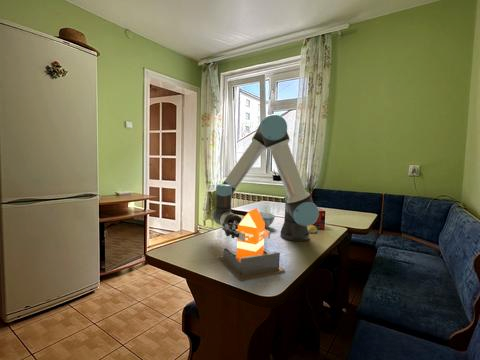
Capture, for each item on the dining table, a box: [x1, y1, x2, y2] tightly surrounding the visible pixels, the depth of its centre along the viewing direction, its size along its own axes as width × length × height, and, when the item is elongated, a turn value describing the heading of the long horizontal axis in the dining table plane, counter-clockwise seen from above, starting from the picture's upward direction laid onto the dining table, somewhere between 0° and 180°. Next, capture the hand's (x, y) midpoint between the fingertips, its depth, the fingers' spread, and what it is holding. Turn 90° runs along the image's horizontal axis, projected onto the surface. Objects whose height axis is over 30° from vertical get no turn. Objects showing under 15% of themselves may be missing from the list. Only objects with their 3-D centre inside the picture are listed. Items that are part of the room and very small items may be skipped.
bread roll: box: [307, 224, 318, 234], centre depth 148 cm, size 8×9×4 cm
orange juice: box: [236, 207, 265, 260], centre depth 95 cm, size 8×9×20 cm
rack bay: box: [217, 247, 286, 282], centre depth 96 cm, size 20×18×7 cm
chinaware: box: [258, 211, 276, 229], centre depth 152 cm, size 15×15×8 cm
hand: (257, 236), depth 91 cm, fingers closed on orange juice, 10 cm apart
